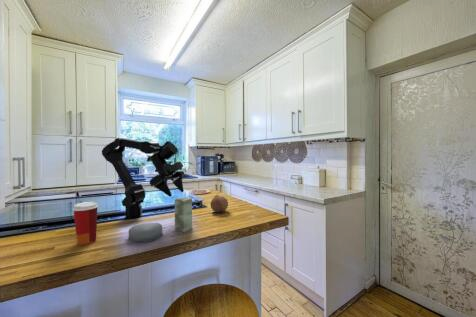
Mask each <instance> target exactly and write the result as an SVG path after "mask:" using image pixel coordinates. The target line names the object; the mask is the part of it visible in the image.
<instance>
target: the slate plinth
mask: <svg viewBox="0 0 476 317" xmlns="http://www.w3.org/2000/svg"><path fill="white" fill-rule="evenodd" d="M162 235H163V225H162V224H161V223H159V222H144V223H139V224H137V225H136V224H135V225H133V226H132V227H130V228H129V229H128V241H129V242H133V243H139V244H141V243H147V242H151V241H152V242H153V241H155V240H157V239H159V238H161V237H162Z"/></svg>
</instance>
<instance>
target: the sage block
mask: <svg viewBox="0 0 476 317" xmlns="http://www.w3.org/2000/svg"><path fill="white" fill-rule="evenodd" d="M192 228H193V198H191V197H187V196H181V197H177V198H175V199H174V231H179V232H182V233H185V232H187V231H189V230H191V229H192Z"/></svg>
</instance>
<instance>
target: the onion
mask: <svg viewBox="0 0 476 317" xmlns="http://www.w3.org/2000/svg"><path fill="white" fill-rule="evenodd" d="M228 207H229V202H228V199H227V198H226V197H225V196H223V195H222V196H220V195H217V194H216V195H215V196H213V198H212V199H211V201H210V208H211V210H212V211H213V212H215V213H218V214H222V213H225V211H226V210H227V209H228Z"/></svg>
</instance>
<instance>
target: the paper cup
mask: <svg viewBox="0 0 476 317" xmlns="http://www.w3.org/2000/svg"><path fill="white" fill-rule="evenodd" d="M98 207H99V205H98V203H97V201H86V202H85V201H84V202H80V203H79V202H78V203H76V204H74V205H73V206H72V209H71V211H73V219H74V227H75V237H76V244H77V245H78V246H86V245H90V244H94V243H95V242H96V240H97V231H98V230H97V229H98V228H97V227H98Z"/></svg>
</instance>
